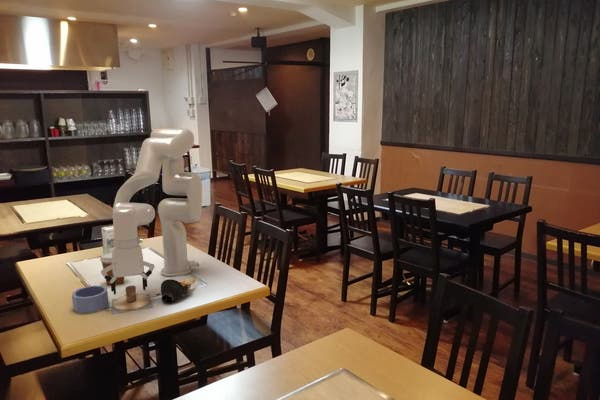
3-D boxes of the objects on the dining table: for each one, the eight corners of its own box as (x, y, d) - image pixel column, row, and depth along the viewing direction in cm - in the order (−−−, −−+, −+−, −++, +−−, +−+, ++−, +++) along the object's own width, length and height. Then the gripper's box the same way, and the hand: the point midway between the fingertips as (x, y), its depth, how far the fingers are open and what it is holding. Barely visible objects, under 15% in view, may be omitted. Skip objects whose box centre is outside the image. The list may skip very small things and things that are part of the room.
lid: (148, 294, 166) (147, 279, 165) (151, 307, 155) (150, 290, 154) (113, 299, 162) (111, 283, 160) (113, 313, 151) (112, 296, 150)
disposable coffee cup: (109, 290, 172) (106, 260, 169) (98, 283, 178) (95, 254, 176) (132, 283, 179) (130, 254, 176) (121, 277, 185) (119, 249, 183)
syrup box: (115, 254, 215) (113, 224, 212) (120, 257, 210) (118, 227, 208) (103, 257, 211) (100, 227, 208) (108, 260, 207) (105, 229, 204)
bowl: (108, 299, 163) (107, 283, 162) (108, 311, 153) (107, 295, 152) (75, 304, 159) (73, 288, 158) (72, 317, 149) (70, 300, 148)
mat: (149, 295, 167) (149, 293, 167) (152, 309, 155) (152, 307, 155) (111, 301, 162) (111, 299, 162) (112, 315, 150) (111, 314, 150)
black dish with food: (149, 293, 157) (168, 262, 172) (167, 316, 161) (184, 283, 177) (171, 286, 154) (188, 255, 169) (188, 309, 158) (203, 276, 174)
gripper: (152, 238, 161) (154, 284, 164) (99, 243, 154) (102, 290, 157) (154, 243, 154) (156, 291, 157) (98, 248, 147) (102, 298, 150)
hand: (129, 291), depth 157 cm, fingers open, 9 cm apart
